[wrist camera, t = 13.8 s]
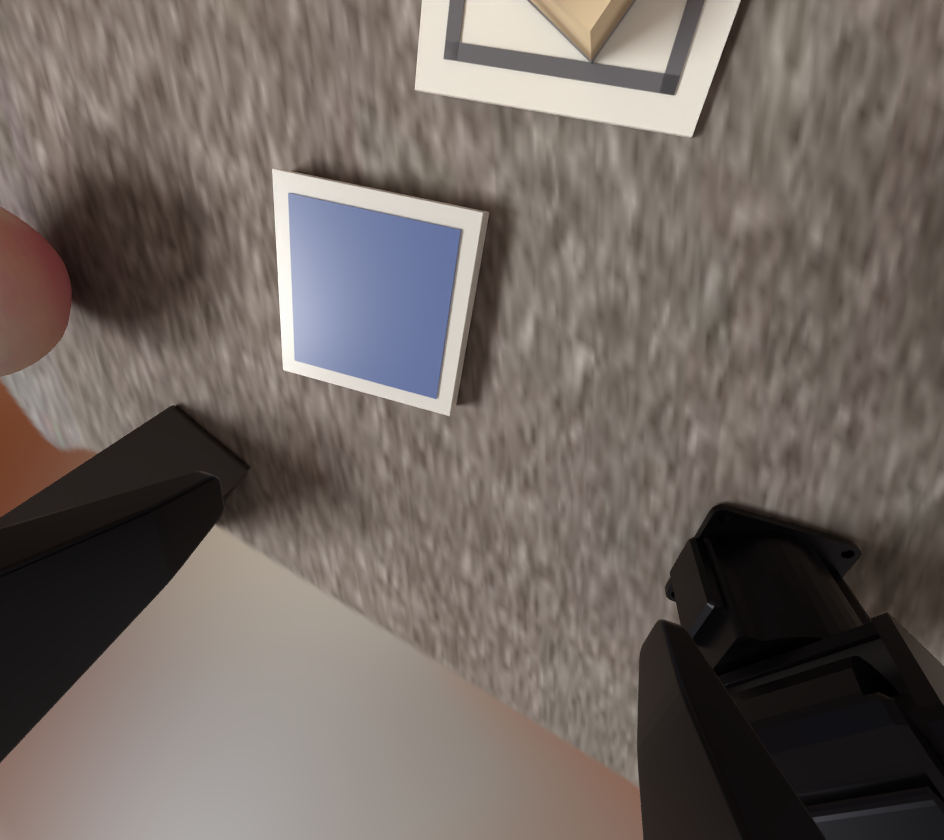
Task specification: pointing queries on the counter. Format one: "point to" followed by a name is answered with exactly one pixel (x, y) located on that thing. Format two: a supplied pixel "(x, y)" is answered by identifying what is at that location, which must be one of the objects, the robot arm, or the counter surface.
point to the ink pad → (376, 287)
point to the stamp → (584, 21)
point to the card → (577, 61)
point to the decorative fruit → (29, 295)
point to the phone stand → (137, 466)
